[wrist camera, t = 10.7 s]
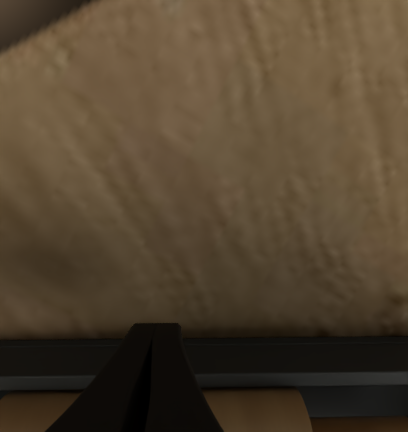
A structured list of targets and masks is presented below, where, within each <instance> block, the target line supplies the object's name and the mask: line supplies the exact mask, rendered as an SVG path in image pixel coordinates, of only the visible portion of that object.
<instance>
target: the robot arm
mask: <svg viewBox="0 0 408 432" xmlns="http://www.w3.org/2000/svg"><path fill="white" fill-rule="evenodd" d="M45 432H224V431H223V429H222V427H221V426H220V424H219V422H218V421H217V419H216V417H215V415H214V414H213V412H212V410H211V408H210V406H209V404H208V403H207V401H206V399H205V397H204V394H203V392H202V390H201V388H200V386H199V384H198V382H197V380H196V377H195V375H194V372H193V370H192V367H191V365H190V362H189V359H188V357H187V354H186V350H185V347H184V343H183V339H182V333H181V326H180V325H179V324H178V323H135V324H134V325H133V326H132V327H131V328H130V330H129V331H128V333H127V335H126V336H125V338H124V339H123V341H122V342H121V344H120V345H119V346H118V348H117V349H116V351H115V352H114V353H113V355H112V356H111V357H110V359H109V360H108V361H107V363H106V364H105V365H104V366H103V368H102V369H101V370H100V372H99V373H98V374H97V375H96V377H95V378H94V379H93V380H92V381H91V383H90V384H89V385H88V386H87V387H86V388H85V389H84V391H83V392H82V393H81V394H80V395H79V396H78V398H77V399H76V400H75V401H74V402H73V403H72V404H71V405H70V406H69V407H68V408H67V410H66V411H65V412H64V413H63V414H62V415H61V416H60V417H59V418H58V419H57V420H56V421H55V422H54V423H53V424H52V425H51V426H50V427H49V428H48V429H47V430H46V431H45Z"/></svg>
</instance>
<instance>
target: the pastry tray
mask: <svg viewBox="0 0 408 432" xmlns="http://www.w3.org/2000/svg"><path fill="white" fill-rule="evenodd" d="M122 341H123V339H89V340H0V400H1V399H2V398H3V397H4V396H5V395H6V394H7V393H8V392H10V391H12V390H79V389H85V388H86V387H87V386H88V385H89V384H90V383H91V381H92V380H93V379H94V378H95V377H96V375H97V374H98V373H99V372H100V370H101V369H102V368H103V366H104V365H105V364H106V363H107V361H108V360H109V359H110V357H111V356H112V355H113V353H114V352H115V351H116V349H117V348H118V346H119V345H120V344H121V342H122ZM183 343H184V347H185V350H186V354H187V357H188V359H189V362H190V365H191V367H192V370H193V372H194V375H195V377H196V380H197V382H198V384H199V386H200V388H215V387H283V386H295V387H296V388H297V389H298V391H299V393H300V394H301V396H302V399H303V401H304V403H305V406H306V409H307V412H308V415H309V417H352V416H399V415H402V416H406V417H408V336H400V337H296V338H192V339H183Z"/></svg>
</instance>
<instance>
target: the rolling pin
mask: <svg viewBox="0 0 408 432" xmlns="http://www.w3.org/2000/svg"><path fill="white" fill-rule="evenodd" d="M201 390H202V392H203V394H204V397H205V399H206V401H207V403H208V404H209V406H210V408H211V410H212V412H213V414H214V415H215V417H216V419H217V421H218V422H219V424H220V426H221V427H222V429H223V431H224V432H408V417H406V416H402V415H399V416H352V417H309V415H308V412H307V409H306V406H305V403H304V401H303V399H302V396H301V394H300V393H299V391H298V389H297V388H296V387H295V386H283V387H215V388H201ZM83 391H84V389H79V390H12V391H10V392H8V393H7V394H6V395H5V396H4V397H3V398H2V399H1V400H0V432H45V431H46V430H47V429H48V428H49V427H50V426H51V425H52V424H53V423H54V422H55V421H56V420H57V419H58V418H59V417H60V416H61V415H62V414H63V413H64V412H65V411H66V410H67V408H68V407H69V406H70V405H71V404H72V403H73V402H74V401H75V400H76V399H77V398H78V396H79V395H80V394H81V393H82V392H83Z"/></svg>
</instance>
